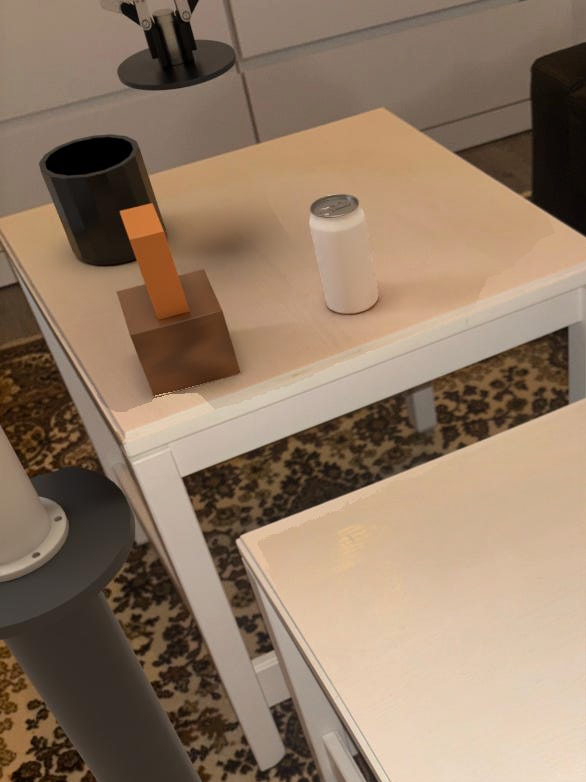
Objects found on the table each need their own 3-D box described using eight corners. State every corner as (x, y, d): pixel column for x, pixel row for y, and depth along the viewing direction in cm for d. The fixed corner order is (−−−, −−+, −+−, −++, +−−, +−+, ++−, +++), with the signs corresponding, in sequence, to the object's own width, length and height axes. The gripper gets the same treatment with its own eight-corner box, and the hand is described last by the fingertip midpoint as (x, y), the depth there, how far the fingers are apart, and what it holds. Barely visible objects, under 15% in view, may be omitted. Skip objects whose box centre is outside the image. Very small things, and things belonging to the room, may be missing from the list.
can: (316, 304, 120) (294, 207, 111) (357, 282, 123) (339, 186, 114) (348, 322, 117) (328, 224, 108) (390, 300, 120) (374, 202, 111)
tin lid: (130, 106, 108) (110, 44, 104) (112, 66, 117) (93, 7, 112) (249, 79, 111) (235, 17, 106) (224, 42, 119) (209, -17, 115)
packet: (157, 320, 105) (129, 239, 98) (147, 290, 109) (119, 210, 103) (190, 311, 106) (163, 231, 99) (178, 282, 110) (152, 202, 103)
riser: (154, 398, 110) (129, 335, 104) (139, 353, 116) (116, 291, 110) (241, 374, 112) (222, 310, 105) (222, 331, 118) (203, 268, 112)
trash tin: (79, 273, 129) (44, 186, 121) (68, 232, 137) (34, 148, 129) (173, 250, 132) (145, 162, 123) (157, 211, 140) (130, 126, 131)
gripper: (43, -117, 95) (111, 87, 109) (206, -146, 98) (251, 56, 112) (36, -132, 100) (102, 66, 114) (191, -159, 103) (237, 36, 117)
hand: (176, 59), depth 113 cm, fingers closed on tin lid, 2 cm apart
